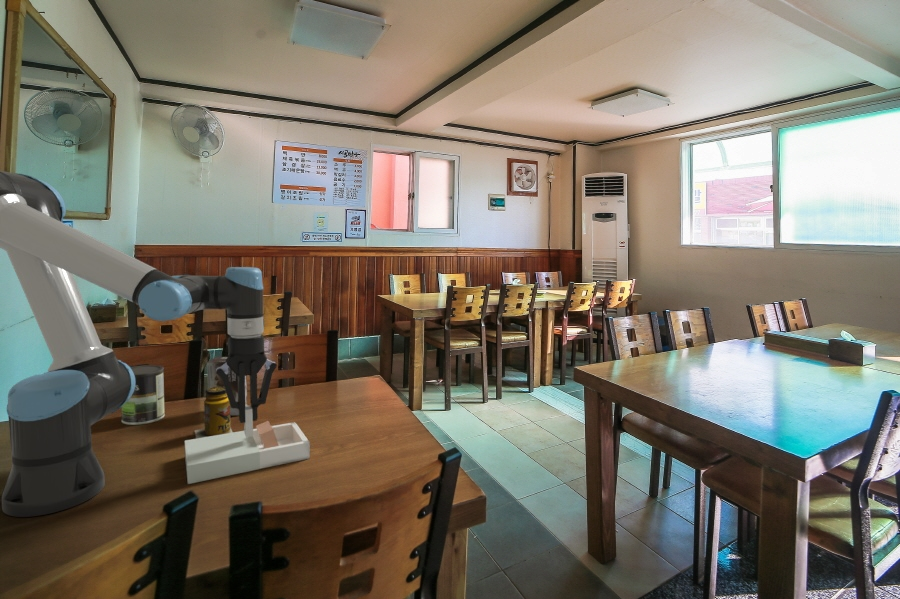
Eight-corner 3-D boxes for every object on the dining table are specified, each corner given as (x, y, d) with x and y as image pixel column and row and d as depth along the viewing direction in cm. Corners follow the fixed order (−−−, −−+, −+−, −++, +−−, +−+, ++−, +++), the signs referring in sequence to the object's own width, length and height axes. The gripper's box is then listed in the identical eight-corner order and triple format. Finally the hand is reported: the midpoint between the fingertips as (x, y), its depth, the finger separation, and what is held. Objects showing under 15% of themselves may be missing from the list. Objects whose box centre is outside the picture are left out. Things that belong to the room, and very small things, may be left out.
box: (259, 468, 102) (259, 451, 102) (250, 445, 114) (249, 429, 114) (309, 458, 108) (309, 442, 108) (295, 436, 120) (295, 422, 119)
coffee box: (248, 408, 139) (247, 356, 137) (239, 416, 133) (238, 361, 131) (217, 408, 139) (216, 355, 137) (207, 415, 132) (206, 361, 130)
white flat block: (187, 484, 95) (187, 465, 94) (185, 457, 107) (184, 440, 106) (259, 468, 102) (259, 451, 102) (250, 445, 114) (249, 429, 114)
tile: (259, 434, 105) (273, 429, 107) (255, 425, 110) (268, 420, 112) (267, 457, 107) (280, 451, 108) (263, 447, 112) (275, 441, 113)
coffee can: (140, 427, 122) (138, 376, 121) (112, 422, 125) (109, 371, 124) (174, 414, 132) (172, 367, 131) (147, 409, 135) (145, 363, 134)
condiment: (233, 435, 120) (233, 390, 118) (197, 441, 115) (195, 395, 114) (229, 425, 126) (228, 383, 125) (194, 431, 121) (193, 387, 120)
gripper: (215, 340, 97) (219, 446, 100) (279, 335, 104) (281, 435, 107) (212, 334, 104) (216, 434, 106) (273, 330, 111) (274, 424, 113)
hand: (248, 434), depth 107 cm, fingers closed
